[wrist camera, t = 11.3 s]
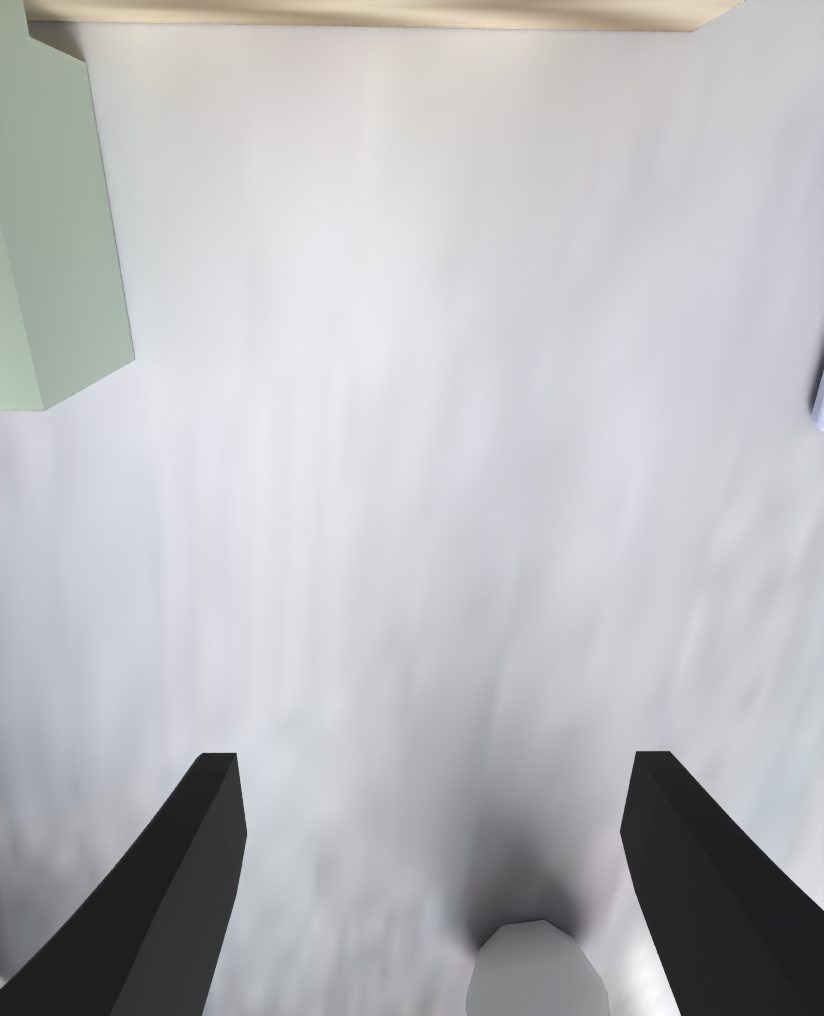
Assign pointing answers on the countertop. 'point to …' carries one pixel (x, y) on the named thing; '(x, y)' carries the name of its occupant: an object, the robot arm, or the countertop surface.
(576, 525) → the countertop surface
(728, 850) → the robot arm
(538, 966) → the salt shaker
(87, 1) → the maple slat
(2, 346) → the green plate
